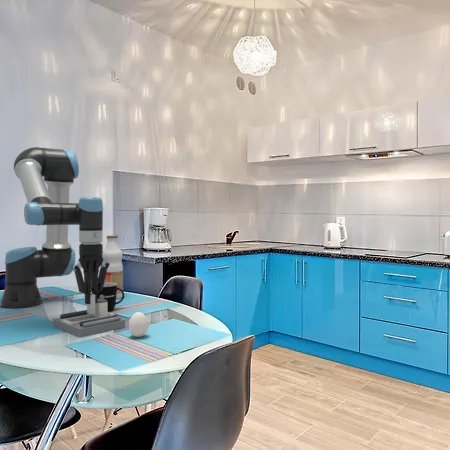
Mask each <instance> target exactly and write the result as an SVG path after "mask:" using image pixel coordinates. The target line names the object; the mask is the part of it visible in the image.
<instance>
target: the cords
mask: <svg viewBox="0 0 450 450" xmlns="http://www.w3.org/2000/svg"><path fill="white" fill-rule="evenodd" d="M87 314H88V313H87V309H84V310H79V311H73V312H69V313H68V312H65V313H63V314H62V313H61V314H60V315H59V318H61V319H66V318H71V317H77V316H82V315H87ZM120 319H122V318H121V316H119V315H118V314H117V313H116V314H115V315H111V316H106V317H101V318H96V319H91V320H86V321H80V323H79V325H80V327H81V326H83V327H88V326H92V325H97V324H102V323H107V322H112V321H116V320H120Z"/></svg>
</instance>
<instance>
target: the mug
mask: <svg viewBox="0 0 450 450" xmlns="http://www.w3.org/2000/svg"><path fill="white" fill-rule="evenodd" d="M117 290H120V291H121V292H122V298H120V300H118V301H116V300H117V299H116V294H117ZM124 298H125V292H124V289H123V290H122V289H120V288H118V287H117V284H116V283H104V286H103V290H102V291H100V292H99V294H97V299H105V300H107V312H109V313H110V312H112V311H113V310H114V309H115V307H116V305H118V304H120V303H122V302H123V301H124Z"/></svg>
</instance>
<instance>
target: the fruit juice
mask: <svg viewBox="0 0 450 450" xmlns="http://www.w3.org/2000/svg"><path fill="white" fill-rule="evenodd" d="M118 238H119V236H118V235H117V234H116V235H115V234H111V235H108V234H107V235H106V246H105V248H103V254H102V257H103V261H105V262H106V263H109V264H110V265H109V267H108V269H107V272H106V277H105V281H104V283H116V284H117V287H118V288H120V289H122V290H123V291H124V265H123V261H122V260H123V257H124V256H123V251H122V249H120V247H119V244H118V240H119V239H118ZM118 299H122V292H121V291H120V290H117V294H116V300H118Z"/></svg>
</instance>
